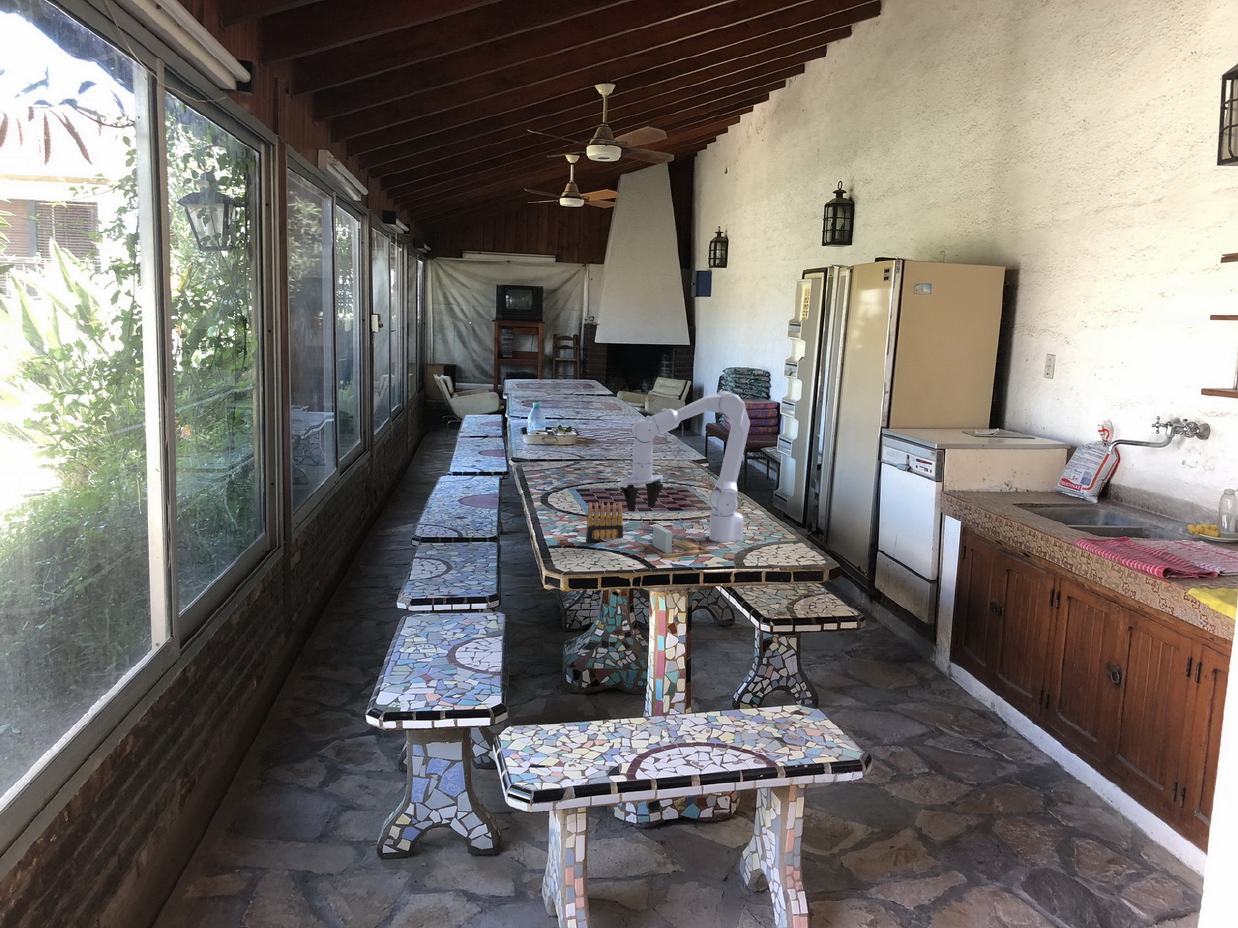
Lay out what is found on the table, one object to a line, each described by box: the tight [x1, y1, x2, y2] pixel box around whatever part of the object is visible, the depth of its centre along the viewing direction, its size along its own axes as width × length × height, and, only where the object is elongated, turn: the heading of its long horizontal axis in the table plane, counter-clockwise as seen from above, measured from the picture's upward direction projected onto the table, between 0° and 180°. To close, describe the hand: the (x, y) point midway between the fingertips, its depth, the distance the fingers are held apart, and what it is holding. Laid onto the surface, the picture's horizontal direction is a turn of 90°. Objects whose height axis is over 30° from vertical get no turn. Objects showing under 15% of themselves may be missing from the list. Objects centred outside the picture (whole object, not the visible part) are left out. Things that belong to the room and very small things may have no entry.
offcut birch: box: [680, 547, 701, 552], centre depth 243 cm, size 3×10×1 cm, turn 24°
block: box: [652, 524, 673, 554], centre depth 239 cm, size 2×8×7 cm, turn 24°
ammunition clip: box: [585, 501, 624, 545], centre depth 249 cm, size 11×2×12 cm, turn 103°
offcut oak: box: [673, 539, 699, 552], centre depth 243 cm, size 3×8×1 cm, turn 28°
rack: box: [643, 538, 711, 559], centre depth 240 cm, size 14×14×2 cm
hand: (641, 509), depth 247 cm, fingers open, 7 cm apart
